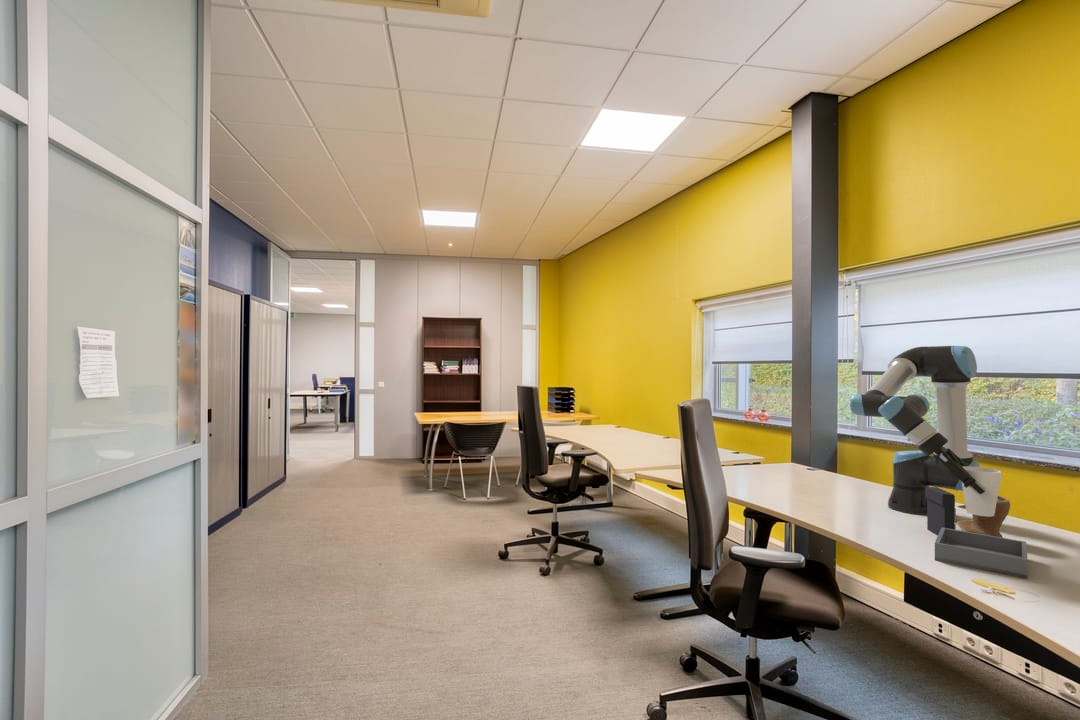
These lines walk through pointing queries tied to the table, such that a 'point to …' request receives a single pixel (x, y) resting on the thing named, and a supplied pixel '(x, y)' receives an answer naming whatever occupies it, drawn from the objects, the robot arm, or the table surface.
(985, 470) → the foam cup
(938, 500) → the dark blue upright block
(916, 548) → the table surface
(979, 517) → the brown flared vessel
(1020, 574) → the tray
